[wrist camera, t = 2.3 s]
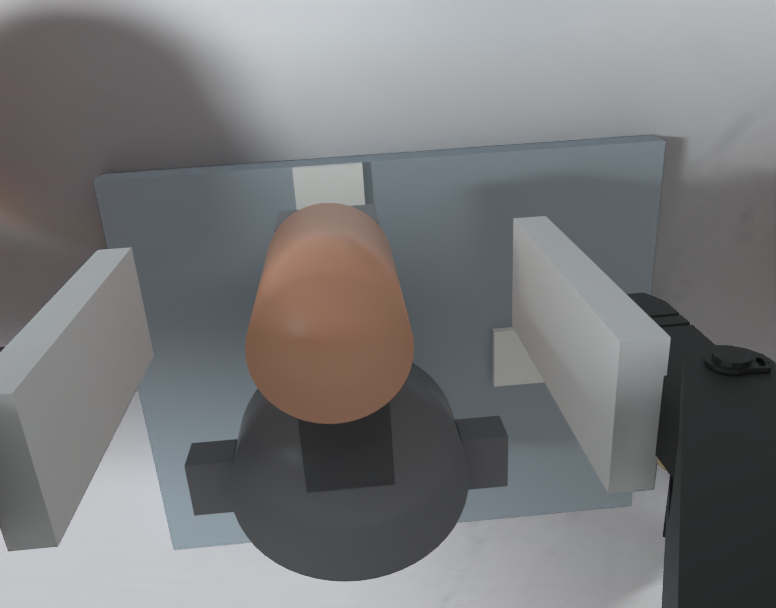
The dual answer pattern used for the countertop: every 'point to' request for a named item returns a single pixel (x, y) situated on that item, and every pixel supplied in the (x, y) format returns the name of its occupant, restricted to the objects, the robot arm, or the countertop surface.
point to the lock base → (417, 280)
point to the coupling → (341, 414)
